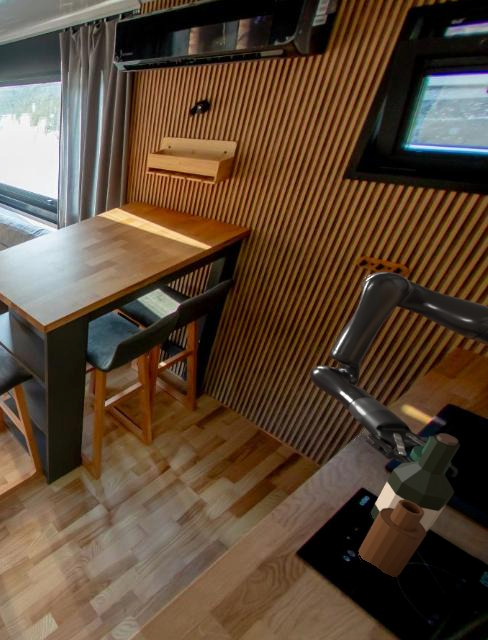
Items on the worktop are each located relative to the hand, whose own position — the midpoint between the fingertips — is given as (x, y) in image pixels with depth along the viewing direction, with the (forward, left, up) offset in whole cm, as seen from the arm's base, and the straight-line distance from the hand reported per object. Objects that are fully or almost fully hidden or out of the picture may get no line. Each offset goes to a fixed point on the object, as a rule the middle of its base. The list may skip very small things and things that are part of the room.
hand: (437, 473), depth 85 cm
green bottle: (0, -2, -10) cm, 10 cm away
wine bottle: (+9, +9, -10) cm, 16 cm away
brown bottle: (+17, +19, -10) cm, 27 cm away
